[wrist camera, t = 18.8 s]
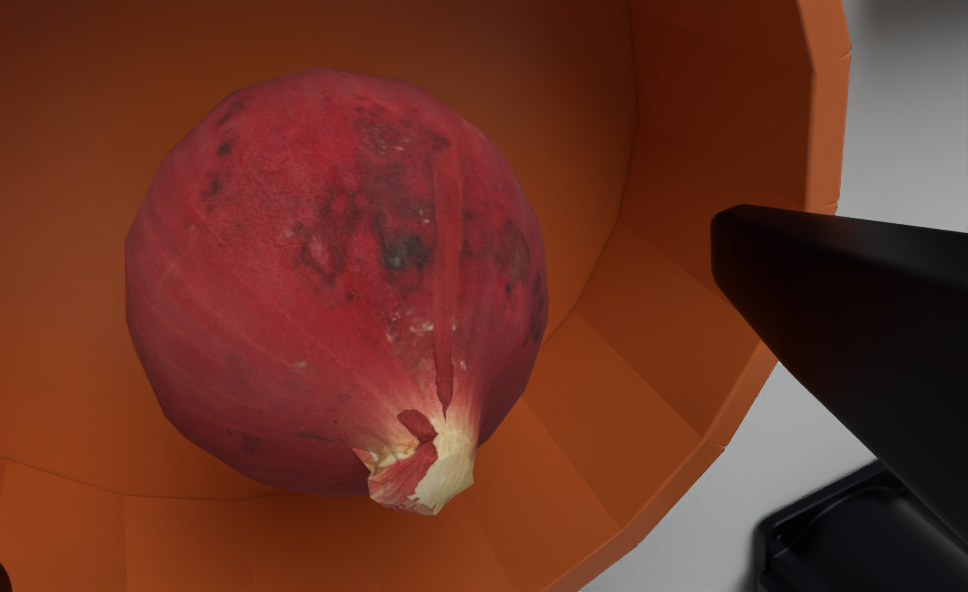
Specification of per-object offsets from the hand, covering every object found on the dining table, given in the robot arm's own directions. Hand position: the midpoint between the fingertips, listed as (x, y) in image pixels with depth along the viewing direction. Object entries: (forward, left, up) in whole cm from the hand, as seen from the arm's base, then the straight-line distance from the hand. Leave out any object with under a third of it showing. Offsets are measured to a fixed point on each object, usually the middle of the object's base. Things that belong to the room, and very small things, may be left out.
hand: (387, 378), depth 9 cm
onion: (0, 0, -7) cm, 7 cm away
